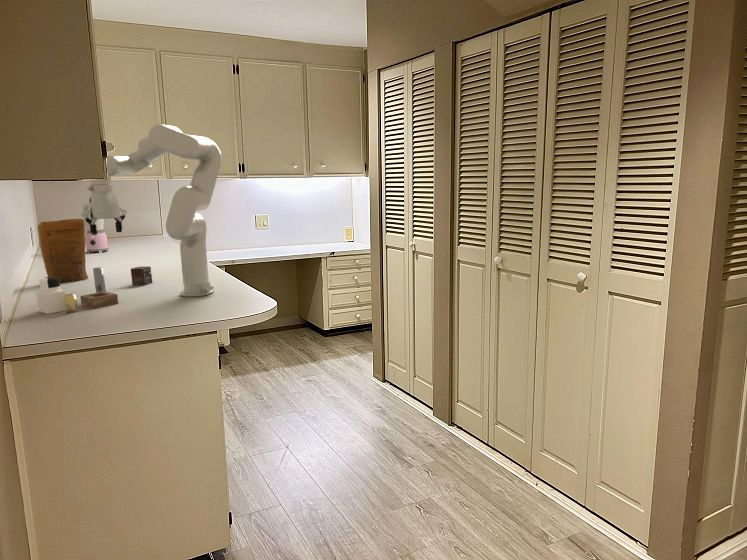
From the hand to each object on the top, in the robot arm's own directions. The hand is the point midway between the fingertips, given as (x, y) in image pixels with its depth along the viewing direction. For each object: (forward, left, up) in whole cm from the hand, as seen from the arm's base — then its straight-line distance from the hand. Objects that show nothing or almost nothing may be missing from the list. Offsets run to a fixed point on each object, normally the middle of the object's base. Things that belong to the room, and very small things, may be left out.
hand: (107, 233), depth 216 cm
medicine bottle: (-11, +28, -24) cm, 39 cm away
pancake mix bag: (+44, -2, -24) cm, 50 cm away
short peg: (-18, +25, -24) cm, 39 cm away
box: (+7, -16, -24) cm, 30 cm away
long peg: (-7, +9, -24) cm, 27 cm away
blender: (+134, -60, -24) cm, 149 cm away
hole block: (-16, +14, -24) cm, 32 cm away
